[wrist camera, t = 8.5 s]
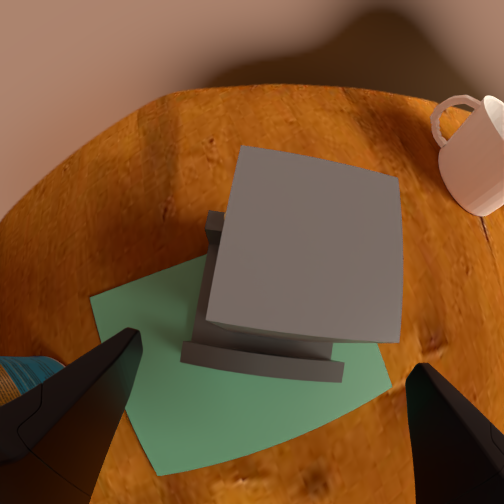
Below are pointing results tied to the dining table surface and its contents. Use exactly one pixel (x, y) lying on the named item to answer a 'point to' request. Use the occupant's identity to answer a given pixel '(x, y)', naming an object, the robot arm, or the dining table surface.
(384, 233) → the grey tall block
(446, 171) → the mug
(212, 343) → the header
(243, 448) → the board
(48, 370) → the beverage bottle
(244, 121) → the dining table surface
